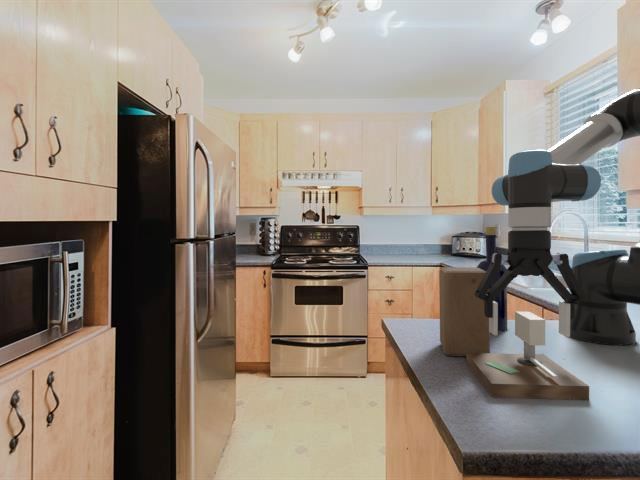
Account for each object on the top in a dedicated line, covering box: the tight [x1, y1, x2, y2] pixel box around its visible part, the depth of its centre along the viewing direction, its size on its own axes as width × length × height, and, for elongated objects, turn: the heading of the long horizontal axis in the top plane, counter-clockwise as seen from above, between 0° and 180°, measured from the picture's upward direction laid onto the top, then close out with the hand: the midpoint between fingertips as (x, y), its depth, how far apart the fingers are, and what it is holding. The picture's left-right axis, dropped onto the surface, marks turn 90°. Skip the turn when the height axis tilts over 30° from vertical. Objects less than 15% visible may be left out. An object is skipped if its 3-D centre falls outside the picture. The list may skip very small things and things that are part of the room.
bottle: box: [476, 226, 508, 333], centre depth 109 cm, size 9×9×30 cm
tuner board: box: [465, 352, 590, 401], centre depth 72 cm, size 16×16×3 cm
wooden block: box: [438, 266, 491, 357], centre depth 89 cm, size 10×10×20 cm
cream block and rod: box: [514, 311, 557, 379], centre depth 71 cm, size 3×14×9 cm, turn 173°
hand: (528, 334), depth 74 cm, fingers open, 13 cm apart
